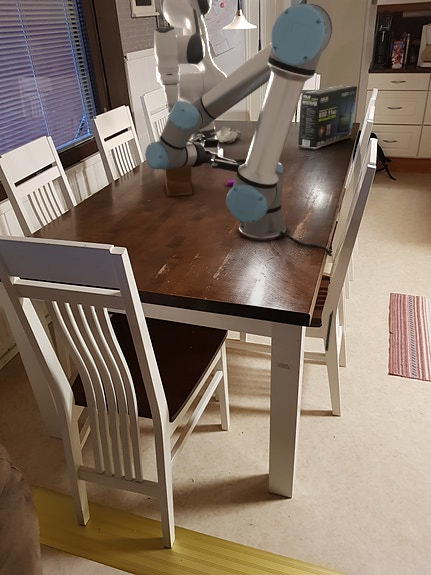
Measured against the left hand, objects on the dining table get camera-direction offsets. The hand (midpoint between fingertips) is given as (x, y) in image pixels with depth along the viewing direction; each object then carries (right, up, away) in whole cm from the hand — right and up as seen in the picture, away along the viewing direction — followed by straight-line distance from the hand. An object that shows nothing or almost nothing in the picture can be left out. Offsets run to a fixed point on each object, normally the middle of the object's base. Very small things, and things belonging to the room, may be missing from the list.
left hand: (171, 114), depth 179 cm
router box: (+76, +10, +66) cm, 101 cm away
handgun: (+27, -28, +6) cm, 40 cm away
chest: (+2, -27, +10) cm, 29 cm away
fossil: (+22, +15, +79) cm, 83 cm away
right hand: (+22, -22, -23) cm, 39 cm away
